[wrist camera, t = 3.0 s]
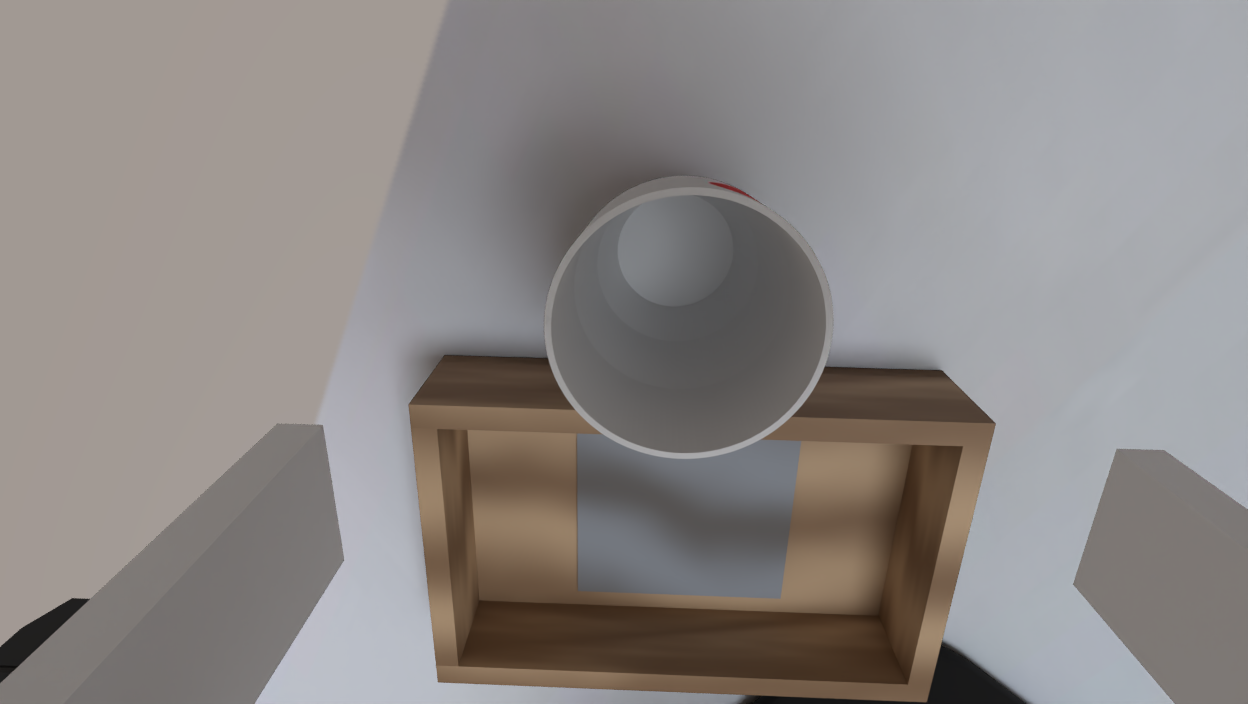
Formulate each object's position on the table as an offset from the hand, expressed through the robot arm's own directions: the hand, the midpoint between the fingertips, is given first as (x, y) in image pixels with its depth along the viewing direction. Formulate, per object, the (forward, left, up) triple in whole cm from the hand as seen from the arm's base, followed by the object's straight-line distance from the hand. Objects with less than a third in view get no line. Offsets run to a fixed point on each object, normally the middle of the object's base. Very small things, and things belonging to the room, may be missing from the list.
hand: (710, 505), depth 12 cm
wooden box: (+12, +1, -18) cm, 22 cm away
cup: (0, 0, -19) cm, 19 cm away
